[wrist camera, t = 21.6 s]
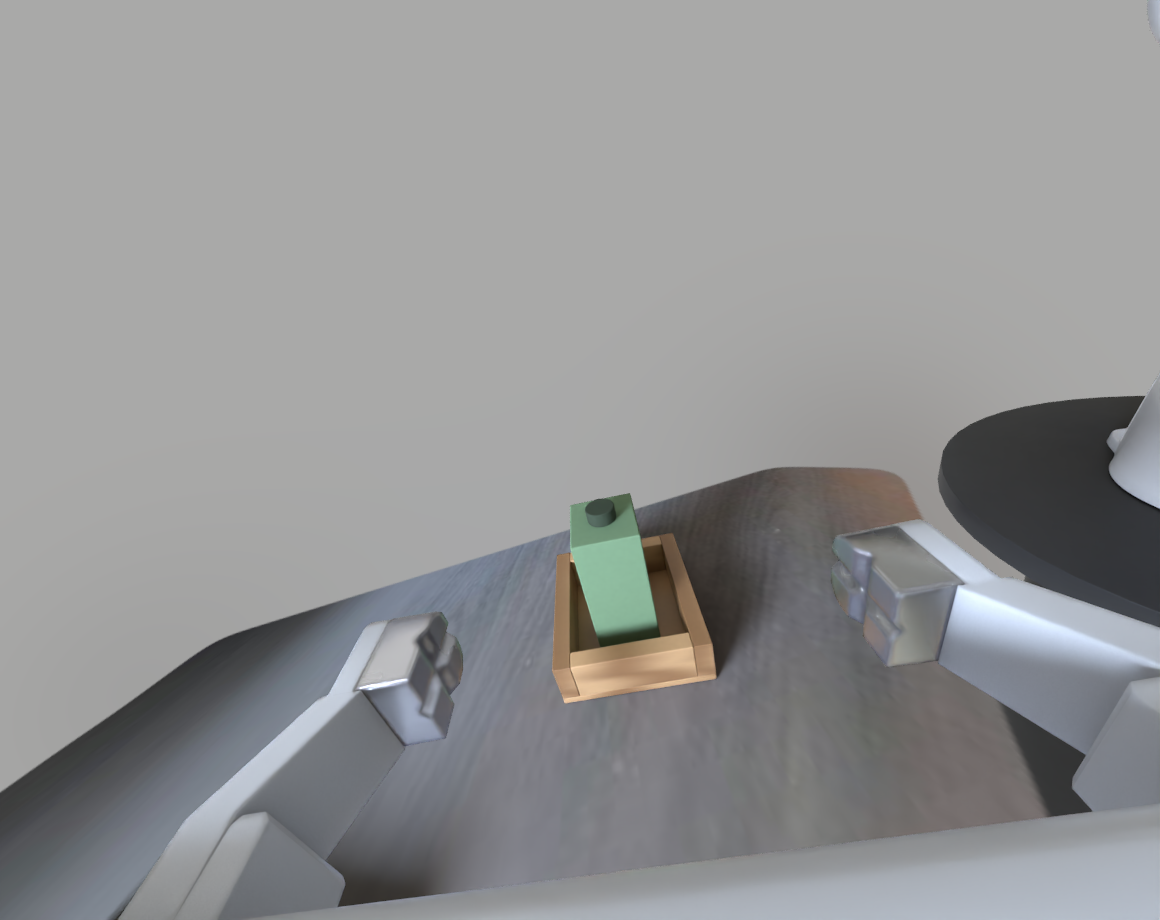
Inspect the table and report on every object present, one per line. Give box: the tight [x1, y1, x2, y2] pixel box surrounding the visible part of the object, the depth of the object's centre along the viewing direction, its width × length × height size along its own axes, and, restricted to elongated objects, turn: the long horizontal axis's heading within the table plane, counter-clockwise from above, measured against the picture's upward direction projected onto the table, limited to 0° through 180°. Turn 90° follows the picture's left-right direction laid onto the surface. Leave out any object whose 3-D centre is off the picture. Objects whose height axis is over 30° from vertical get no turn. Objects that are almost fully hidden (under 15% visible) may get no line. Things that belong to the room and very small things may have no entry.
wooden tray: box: [552, 533, 717, 703], centre depth 32 cm, size 10×11×4 cm
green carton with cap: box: [570, 493, 661, 647], centre depth 30 cm, size 4×5×11 cm
